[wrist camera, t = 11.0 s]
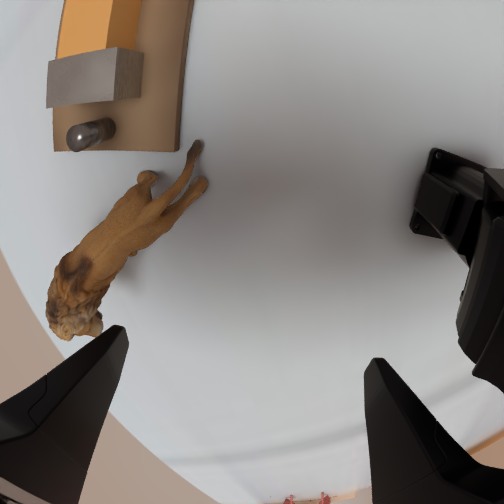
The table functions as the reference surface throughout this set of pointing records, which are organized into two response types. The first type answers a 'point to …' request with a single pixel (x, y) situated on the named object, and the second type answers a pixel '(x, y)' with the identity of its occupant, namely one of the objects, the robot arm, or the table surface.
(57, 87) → the hammer
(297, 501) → the figurine
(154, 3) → the board
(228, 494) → the table surface
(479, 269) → the robot arm
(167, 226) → the lion figurine
